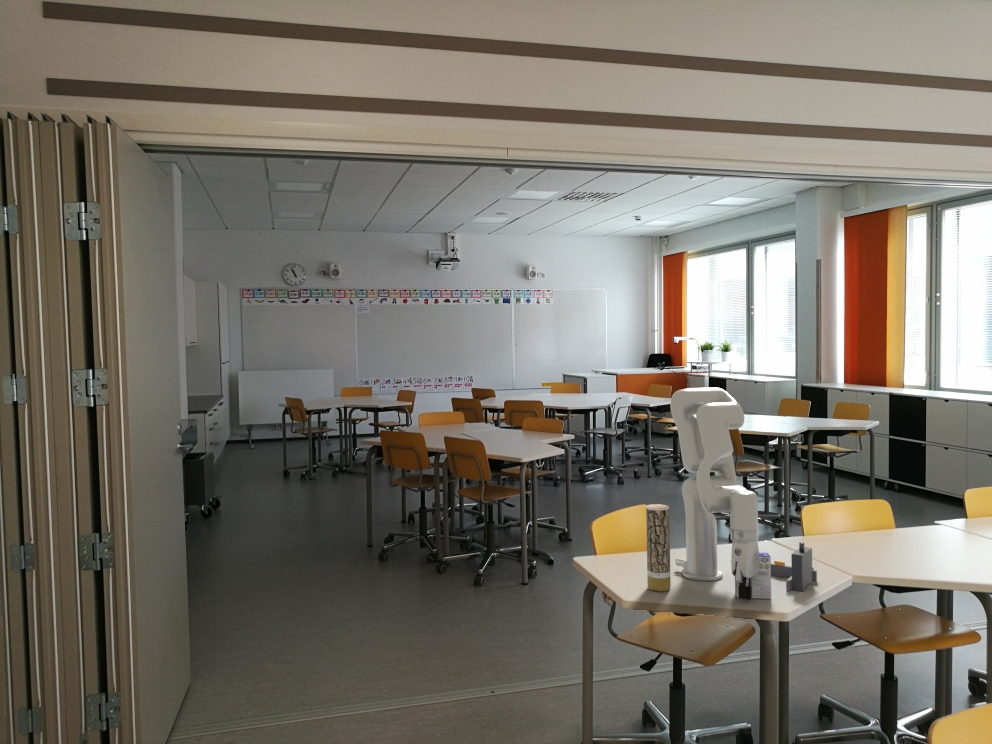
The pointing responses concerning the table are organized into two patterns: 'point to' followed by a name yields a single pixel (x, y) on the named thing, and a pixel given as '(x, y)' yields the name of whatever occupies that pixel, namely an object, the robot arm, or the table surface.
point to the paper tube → (658, 547)
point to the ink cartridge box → (760, 579)
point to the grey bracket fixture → (797, 570)
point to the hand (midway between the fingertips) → (745, 598)
